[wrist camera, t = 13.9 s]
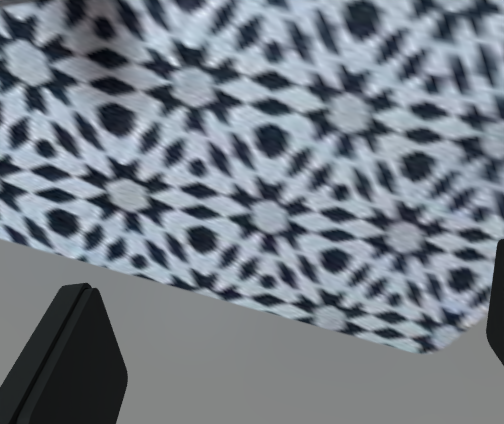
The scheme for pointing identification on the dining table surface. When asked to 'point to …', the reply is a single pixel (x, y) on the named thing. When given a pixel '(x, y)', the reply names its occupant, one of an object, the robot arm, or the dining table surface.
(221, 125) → the dining table surface
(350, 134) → the dining table surface
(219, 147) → the dining table surface
